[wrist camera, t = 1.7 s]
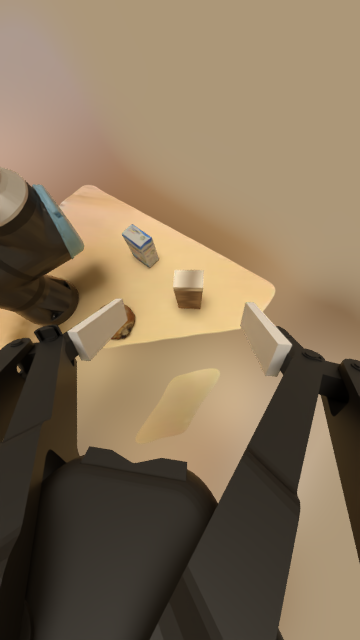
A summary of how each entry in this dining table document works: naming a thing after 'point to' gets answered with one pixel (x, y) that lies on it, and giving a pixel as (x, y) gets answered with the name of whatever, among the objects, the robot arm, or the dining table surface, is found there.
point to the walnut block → (188, 288)
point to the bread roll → (127, 326)
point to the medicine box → (141, 245)
